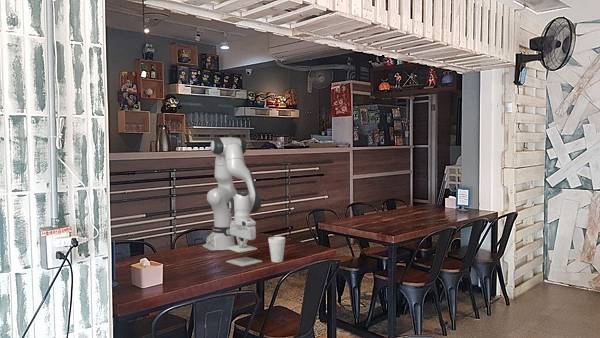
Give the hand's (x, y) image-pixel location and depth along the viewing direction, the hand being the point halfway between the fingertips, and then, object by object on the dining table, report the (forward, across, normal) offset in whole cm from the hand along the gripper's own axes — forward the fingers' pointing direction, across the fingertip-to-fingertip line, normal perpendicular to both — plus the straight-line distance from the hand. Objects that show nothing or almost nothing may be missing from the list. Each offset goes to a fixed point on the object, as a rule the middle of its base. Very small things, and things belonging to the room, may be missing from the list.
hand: (242, 245), depth 276 cm
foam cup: (+9, +13, +15) cm, 22 cm away
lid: (+2, 0, 0) cm, 2 cm away
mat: (+9, +1, +1) cm, 9 cm away
